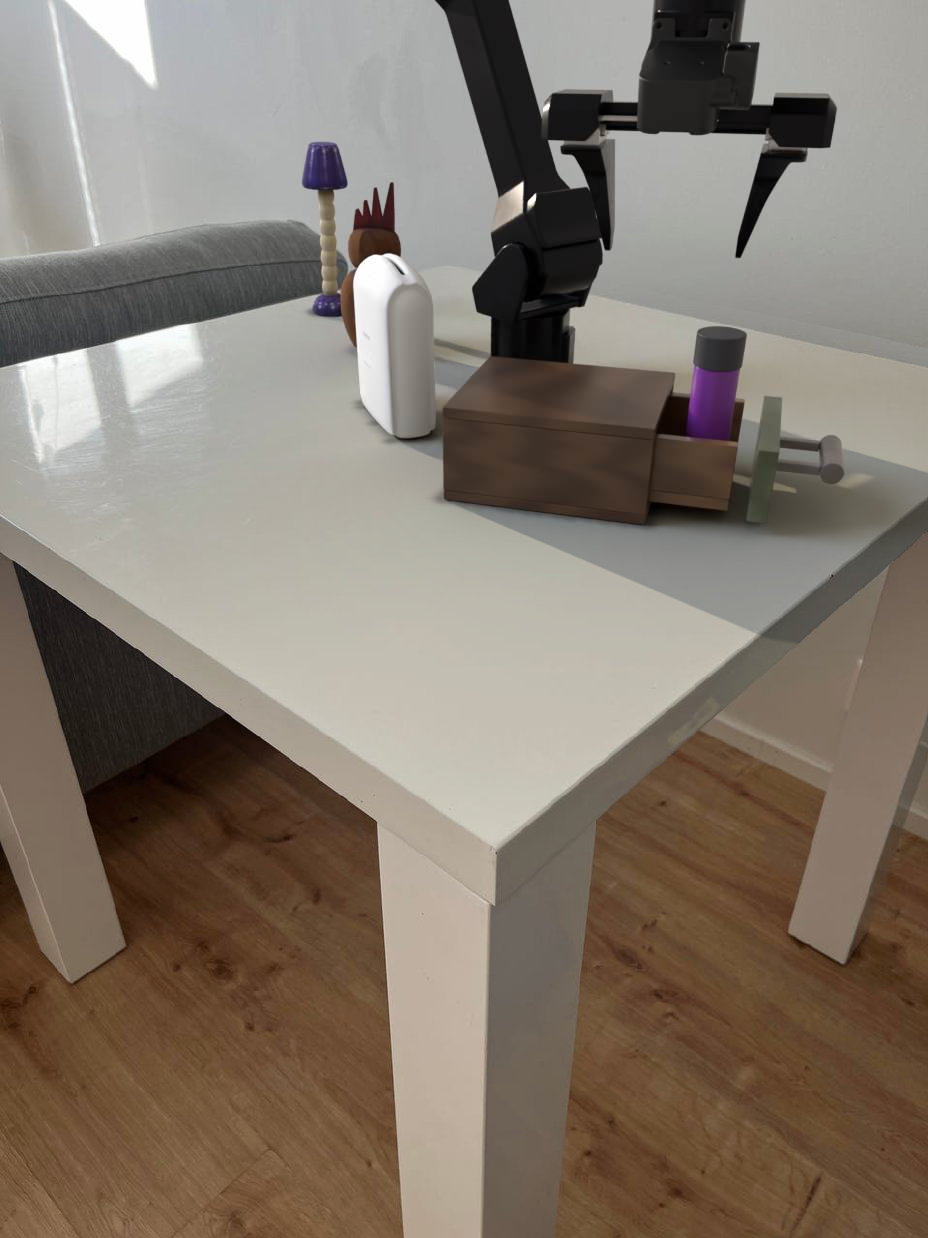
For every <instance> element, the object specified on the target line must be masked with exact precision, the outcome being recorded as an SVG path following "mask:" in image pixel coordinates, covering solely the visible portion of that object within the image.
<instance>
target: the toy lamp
mask: <svg viewBox="0 0 928 1238" xmlns="http://www.w3.org/2000/svg"><path fill="white" fill-rule="evenodd" d="M341 155H342V154H341V152H340V148H339V146H338V144H337V143H336V142H333V141H332V142H331V141H313V142H309V143H308V145H307V149H306V153H305V159H304V163H303V164H304V165H303V171H302V177H301V185H302V187H303V188H304V189H307V190H312V191H317V200H318V203H319V205H318V216H319V218H320V221H319V231H320V234H321V235H320V239H319V243H320V244H319V245H320V247H321V252H320V261H321V264H322V266H321V277H322V282H321V288H322V293H321V294H319V295H318V296H317V297H315V299H314V300H313V303H312V308H311V309H312V312H313V314H316V315H320V316H327V317H332V316H342V312H341V292H338V290H339V284H338V281H337V278H338V267H337V262H338V253H337V250H336V248H337V245H338V243H337V242H338V241H337V237H336V234H335V233H336V230H337V225H336V221H335V216H336V207H335V205H334V202H335V191H338V190H343V189H344V190H345V189H346V188H347V187H348V185H349V184H348V183H349V182H348V177H347V174H346V170H345V166H344V162H343V159H342V156H341Z"/></svg>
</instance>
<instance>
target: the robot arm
mask: <svg viewBox="0 0 928 1238" xmlns="http://www.w3.org/2000/svg"><path fill="white" fill-rule="evenodd" d="M746 1H747V0H653V4H652V16H651V27H650V28H651V31H650V37H649V40H650V41H649V43H648V46H647V48H646V51H645V54H644V57H643V59H642V62H641V66H640V70H639V74H638V89H637V91H638V92H637V101H621V100H620V101H619V100H617V101H616V100H614V91H613V89H579V88H578V89H576V88H575V89H573V88H564V89H562V90H558V91H555V92H552V93H551V94H550V95H549V96H548V97H547V99H546V100H545V101H544V102H543V109H542V112H541V110H540V106H539V103H538V99H537V96H536V92H535V89H534V86H533V82H532V77H531V75H530V70H529V68H528V64H527V61H526V55H525V53H524V50H523V46H522V43H521V42H522V41H521V39H520V35H519V32H518V28H517V25H516V21H515V17H514V14H513V10H512V6H511V4H510V3H511V2H510V0H434V2H435V3H436V5H438V6H439V7H440V8H441V9H442V11H443V12H444V14H445V17H446V20H447V22H448V27H449V29H450V33H451V36H452V37H451V38H452V40H453V43H454V47H455V50H456V54H457V57H458V61H459V64H460V67H461V72H462V74H463V78H464V83H465V85H466V88H467V91H468V95H469V98H470V99H469V100H470V102H471V105H472V109H473V112H474V115H475V120H476V122H477V126H478V129H479V133H480V136H481V140H482V143H483V147H484V150H485V153H486V156H487V161H488V164H489V168H490V170H491V174H492V177H493V180H494V185H495V188H496V192H497V202H496V206H495V212H494V215H493V216H494V217H493V221H492V226H491V230H490V238H491V244H492V250H493V256H494V257H493V259H492V260H491V262H490V263H489V264H488V266H487V267H486V268H485V270H484V271H483V272H482V274H481V275H480V276H479V277H478V278H477V280H476V281H475V282H474V284H473V285H472V286H471V292H472V297H473V301H474V305H475V311H476V313H477V314H480V315H484V316H487V317H489V318H490V356H493V357H504V358H515V359H527V360H538V361H549V362H561V363H572V364H574V360H575V346H576V345H575V344H576V327H575V326H573V325H570V321H571V320H570V317H571V309H574V308H575V309H576V308H578V309H579V308H584V307H585V306H586V303H587V300H588V297H589V295H590V292H591V289H592V286H593V283H594V282H595V280H596V278H597V276H598V273H599V270H600V266H602V265H603V259H604V253H603V248H604V251H606V252H607V251H608V252H609V251H611V250H612V249H613V243H614V236H615V228H616V227H615V226H616V139H615V138H608V135H609V134H610V133H611V131H612V132H640V133H642V134H647V135H658V134H660V133H684V134H685V133H687V134H689V135H690V136H706V135H710V134H724V135H763V136H765V137H764V141H766V142H767V143H763V144H762V147H761V151H760V154H759V158H758V161H757V166H756V168H755V172H754V177H753V180H752V184H751V187H750V190H749V194H748V198H747V202H746V206H745V209H744V213H743V217H742V219H741V224H740V227H739V231H738V235H737V241H736V247H735V255H734V258H735V259H741V258H742V256H743V254H744V251H745V250H746V247H747V245H748V243H749V240H750V238H751V236H752V234H753V232H754V229H755V227H756V225H757V223H758V220H759V218H760V216H761V214H762V213H763V212H762V211H763V210H764V208H765V206H766V203H767V201H768V199H769V197H770V196H771V194H772V192H773V190H775V188H776V185H777V184H778V182H779V181H780V179H781V177H782V176H783V175H784V173H785V171H786V170H787V168H788V167H789V165H790V164H792V163H795V164H796V163H806V162H807V159H808V149H831V146H832V141H833V136H834V128H835V125H836V119H837V118H836V117H837V112H838V107H837V105H836V102H835V101H834V100H833V98H832V97H831V95H830V94H829V93H824V92H823V93H820V92H819V93H817V92H815V93H814V92H812V93H811V92H775V93H774V96H773V101H772V104H771V103H753V98H754V94H755V87H756V79H757V73H758V64H759V55H760V46H761V42H759V41H741V40H742V33H743V27H744V26H743V25H744V17H745V9H746ZM549 141H559V142H560V141H561V142H563V144H561V145H560V146H559V149H560V154H561V155H565V156H572V157H574V159H575V161H576V163H577V165H578V166H579V168H580V169H581V172H582V174H583V176H584V179H585V182H586V184H587V186H581V187H573V188H571V187H570V186H569V185H568V184H567V183H566V182H565V181H564V179H562V177H561V176H560V175H559V172H558V171H557V170H558V169H557V168H556V167H557V166H556V164H555V161H554V157H553V153H552V149H551V146H550V143H549ZM601 241H602V242H601ZM602 245H603V247H602Z"/></svg>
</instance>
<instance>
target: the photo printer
mask: <svg viewBox="0 0 928 1238" xmlns="http://www.w3.org/2000/svg"><path fill="white" fill-rule="evenodd" d="M356 269H357V268H356ZM353 288H354V304H355V322H356V337H357V348H356V349H357V350H356V353H357V364H358V365H357V366H358V367H357V368H358V379H359V392H360V398H361V402H362V405H363V406H364V407H365V408H366V411H368V412H369V414H370V415H371V416H372V417H373V419H374V420H375V421H376V422H377V423H378V424H379V425H380V426H381V427H382V428H383V430H385V431H386V432H387V433H388V434H389V435H391V436H396V437H397V438H400V439H413V438H420V437H424V436H427V435H430V433H431V431H434V430H435V429H436V425H437V424H436V422H437V412H436V410H437V409H436V372H435V371H436V369H435V326H434V325H435V323H434V320H435V319H434V317H435V316H434V301H433V297H432V294H431V290H430V288H429V286H428V284H427V283H426V281H425V279H424V278H423V276H422V275H421V274H420V272H419V271H418V270H417V269H416V267H414V266H413V265H412V264H411V263H410V262H409V261H408V260H406V259H404V258H403V257H402V256H401V257H399V256H397V255H394V254H384V255H372V256H370V257H368V258H367V259H365V260H364V261H363V262H362V263H361V264H360V265H359V267H358V269H357V271H356V273H355V276H354V283H353Z"/></svg>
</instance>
